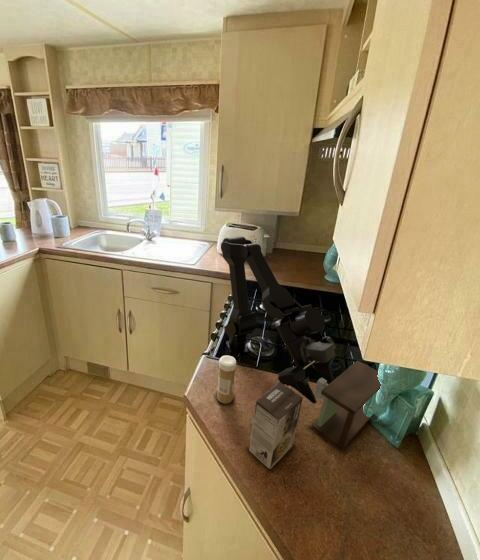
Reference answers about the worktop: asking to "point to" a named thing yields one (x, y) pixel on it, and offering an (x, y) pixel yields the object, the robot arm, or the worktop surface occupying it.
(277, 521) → the worktop surface
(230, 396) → the sprinkles bottle
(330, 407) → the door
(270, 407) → the coffee box
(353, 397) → the dark brown angular piece
